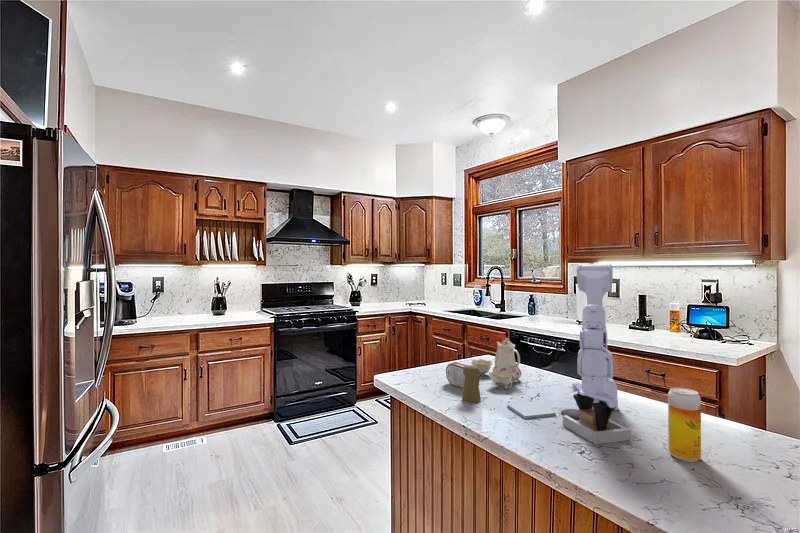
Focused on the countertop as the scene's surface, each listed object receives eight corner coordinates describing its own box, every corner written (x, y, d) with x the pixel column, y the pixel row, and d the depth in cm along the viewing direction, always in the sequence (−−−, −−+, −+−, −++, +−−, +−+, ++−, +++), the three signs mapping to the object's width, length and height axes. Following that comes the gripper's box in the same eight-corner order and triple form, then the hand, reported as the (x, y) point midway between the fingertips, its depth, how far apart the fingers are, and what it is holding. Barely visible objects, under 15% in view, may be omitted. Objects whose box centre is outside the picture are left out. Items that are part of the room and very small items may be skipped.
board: (536, 404, 126) (536, 401, 126) (555, 415, 116) (555, 412, 116) (507, 406, 123) (507, 404, 123) (524, 418, 113) (524, 416, 113)
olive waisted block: (480, 403, 126) (480, 368, 126) (461, 402, 128) (461, 368, 128) (480, 397, 132) (480, 364, 132) (462, 396, 134) (462, 363, 134)
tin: (480, 392, 138) (480, 368, 138) (473, 394, 136) (473, 369, 136) (450, 382, 150) (450, 359, 150) (444, 383, 148) (444, 360, 148)
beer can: (702, 465, 87) (702, 396, 87) (668, 458, 90) (668, 392, 90) (699, 454, 92) (699, 389, 92) (667, 448, 95) (667, 385, 95)
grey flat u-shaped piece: (595, 421, 112) (595, 412, 112) (630, 439, 100) (630, 429, 100) (562, 424, 109) (562, 415, 109) (595, 444, 97) (595, 434, 97)
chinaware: (464, 376, 163) (460, 336, 163) (500, 369, 168) (496, 330, 168) (501, 398, 136) (496, 350, 136) (542, 388, 141) (538, 342, 141)
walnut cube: (595, 426, 108) (595, 408, 108) (608, 434, 103) (608, 414, 103) (579, 428, 107) (579, 409, 107) (592, 436, 102) (592, 416, 102)
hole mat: (578, 408, 121) (578, 407, 121) (597, 418, 113) (597, 417, 113) (555, 411, 119) (555, 410, 119) (573, 421, 111) (573, 420, 111)
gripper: (562, 368, 111) (563, 417, 111) (600, 383, 97) (600, 438, 97) (584, 366, 113) (584, 414, 113) (624, 381, 99) (625, 435, 99)
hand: (593, 425), depth 105 cm, fingers closed on walnut cube, 5 cm apart
